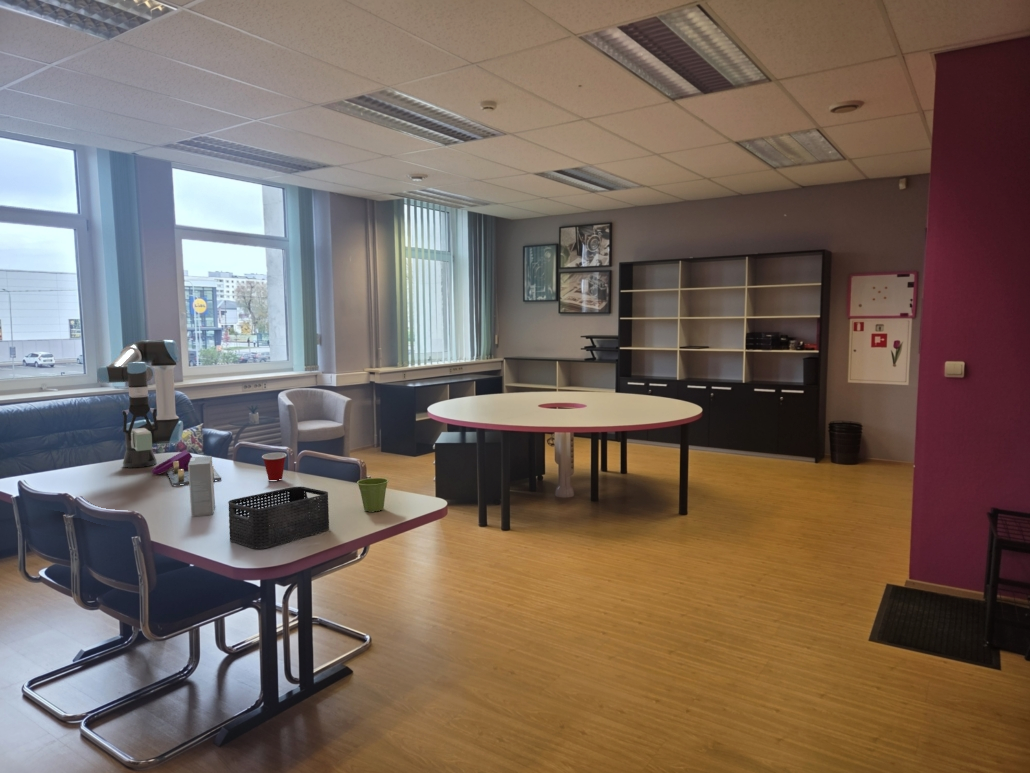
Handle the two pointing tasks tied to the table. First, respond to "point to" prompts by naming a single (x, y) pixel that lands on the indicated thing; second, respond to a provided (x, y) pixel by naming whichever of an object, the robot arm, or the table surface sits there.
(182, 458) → the mounting bracket
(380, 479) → the plant pot
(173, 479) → the chassis plate
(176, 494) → the table surface
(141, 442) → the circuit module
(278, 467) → the plastic cup
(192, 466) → the hard drive box
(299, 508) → the storage bin
